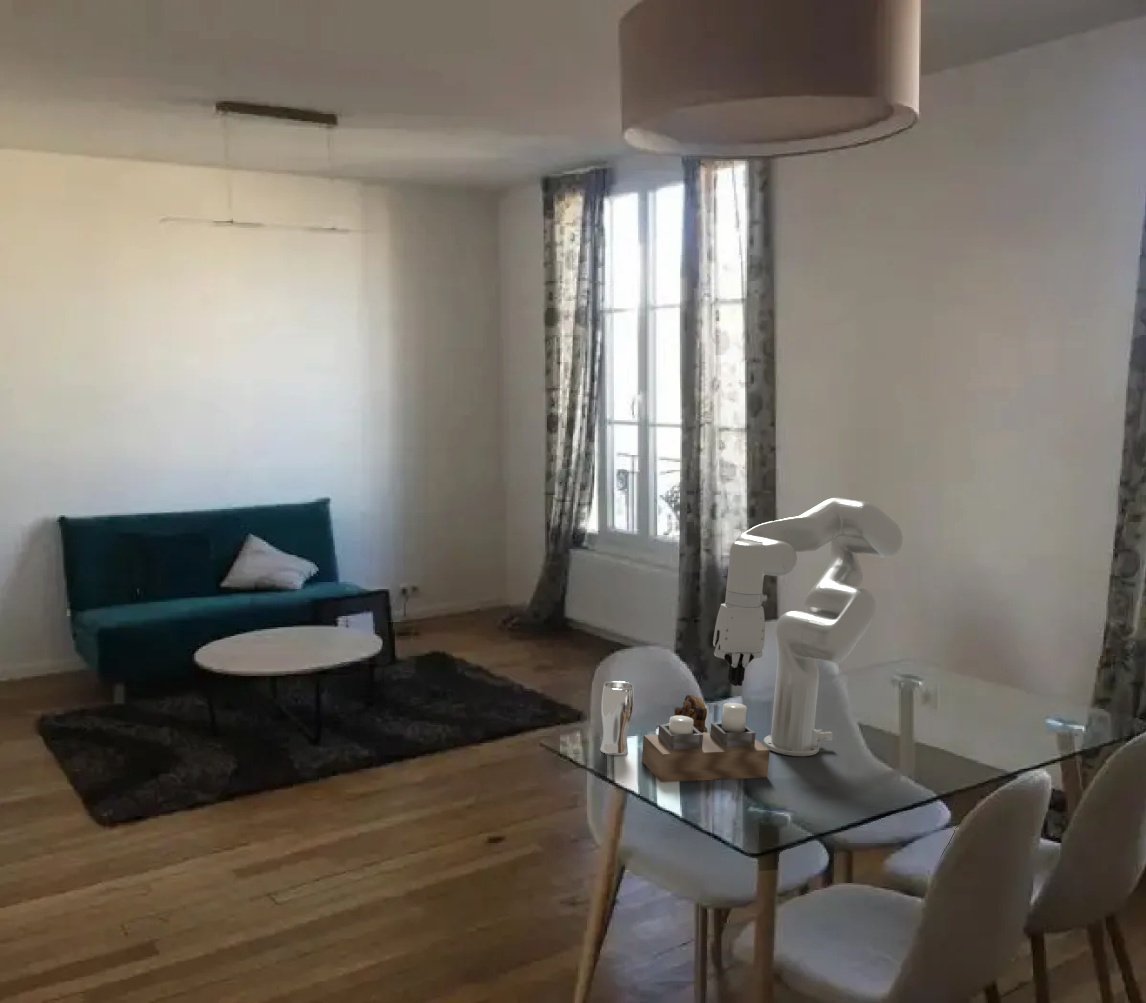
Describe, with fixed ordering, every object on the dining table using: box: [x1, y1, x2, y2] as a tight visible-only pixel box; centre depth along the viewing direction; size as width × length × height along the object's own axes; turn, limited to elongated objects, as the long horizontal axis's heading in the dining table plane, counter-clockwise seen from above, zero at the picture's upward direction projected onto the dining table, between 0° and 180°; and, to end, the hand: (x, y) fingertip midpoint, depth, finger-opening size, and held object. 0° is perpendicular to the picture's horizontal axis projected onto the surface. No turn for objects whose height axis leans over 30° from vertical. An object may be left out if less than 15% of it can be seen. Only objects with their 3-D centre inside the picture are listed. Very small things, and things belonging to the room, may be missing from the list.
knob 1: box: [669, 715, 694, 734], centre depth 250 cm, size 5×5×5 cm
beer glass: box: [600, 680, 634, 757], centre depth 260 cm, size 7×7×15 cm
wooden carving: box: [673, 694, 708, 733], centre depth 272 cm, size 16×5×10 cm, turn 18°
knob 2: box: [721, 702, 748, 732], centre depth 254 cm, size 5×5×5 cm
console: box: [641, 722, 771, 783], centre depth 253 cm, size 24×12×9 cm, turn 106°
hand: (735, 684), depth 252 cm, fingers closed
